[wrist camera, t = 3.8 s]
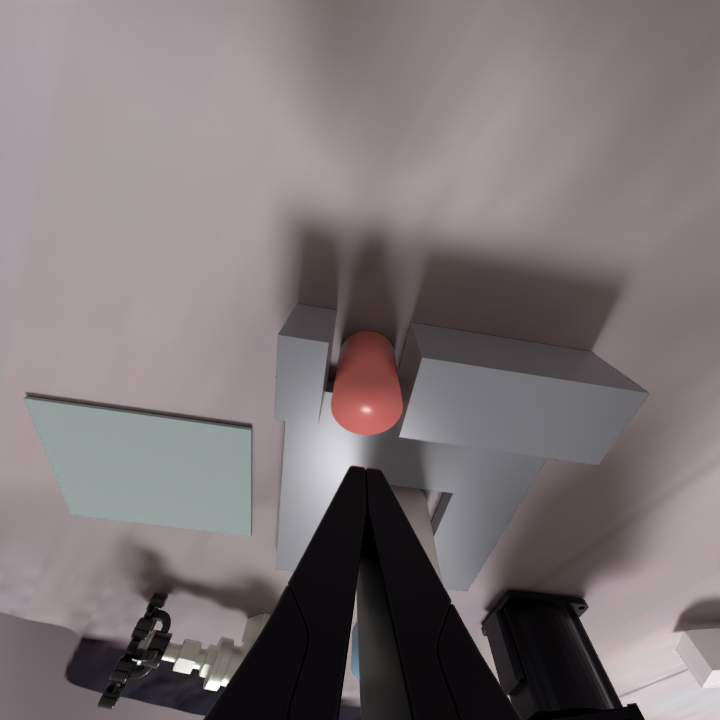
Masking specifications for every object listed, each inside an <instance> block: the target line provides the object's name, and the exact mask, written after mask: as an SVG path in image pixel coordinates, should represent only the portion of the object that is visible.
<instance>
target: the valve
mask: <svg viewBox="0 0 720 720" xmlns="http://www.w3.org/2000/svg"><path fill="white" fill-rule="evenodd" d="M167 598H168V596H167V595H163V594H159V593H154V595H153V596H152V598H151V600H150V602H149V604H148V606H147V609H146V610H147V611H146V613H145V615H144V617H143V618H140V619H139V621H138V623H137V625H136V627H135V629H134V631H133V633H132V635H131V638H132V639H131V641H130V643H129V645H128V647H127V649H126V651H125V653H124V655H123V657H120V659H119V660H118V662H117V664H116V666H115V668H114V670H113V672H112V674H111V676H110V680H112V681H111V683H109V684H108V685H107V687H106V689H105V691H104V693H103V695H102V696H101V699H100V701H99V703H98V706H97V707H100V708H106V709H113V708H114V706H115V704H116V702H117V701H118V700H119V698H120V696H121V694H122V692H123V690H124V688H125V684H122V682H123V683H124V682H125V681H126V679H127V678H132V679H136V678H140V677H143V676H144V675H146V674H147V673H148V672H149V671H150V670H151V668H158V666H159V664H160V662H161V660H166V661H170V662H175V664H174V666H173V671H177V672H182V673H186V674H190V673H191V671H192V669H193V668H195V669H198V670H199V671H200V672H199V676H200V677H205V681H204V689H208V690H213V691H217V690H218V688H219V687H220V686H225V687H226V685H227V684H228V682H229V681H230V679H231V678H232V676H233V675H234V673H235V672H236V670H237V669H238V667H239V666H240V664H241V663H242V661H243V659H244V658H245V656H246V655H247V653H248V652H249V650H250V648H251V647H252V645H253V644H254V642H255V641H256V639H257V637H258V636H259V634H260V633H261V631H262V629H263V627H264V626H265V624H266V622H267V620H268V619H269V617H270V614H267V613H263V614H260V615H257V616H254V617H251V618H249V619H248V620H247V624H246V627H245V631H244V634H243V638H242V642H243V644H244V645H243V646H241V647H238V646H234V640H233V639H229V638H225V637H221V639H220V640H219V642H218V645H217V646H216V645H210V646H209V648H208V649H203V648H201V646H202V642H199V641H194V640H190V639H185V640H184V642H183V645H179V644H175V643H171V642H170V639H171V637H172V633H168V631H169V628H170V625H171V619H170V616H169V614H168V613H167V612H165V611H163V610H159V609H158V608H162V607H164V604H165V602H166V600H167ZM157 620H158V621H161V622H162V624H163V627H162V629H161V631H159V630H155V629H154V630H153V628H154V626H155V624H156V622H157ZM152 630H153V631H152ZM137 662H138V663H137ZM136 664H138V665H142V666H137V665H136Z"/></svg>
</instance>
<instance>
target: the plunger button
mask: <svg viewBox="0 0 720 720" xmlns="http://www.w3.org/2000/svg"><path fill="white" fill-rule="evenodd" d="M402 409H403V403H402V396H401V390H400V384H399V378H398V372H397V366H396V360H395V354H394V349H393V346H392V344H391V343H390V342H389V340H388V339H387V338H386V337H384V336H383V335H381V334H379V333H376V332H372V331H362V332H358V333H355V334H353V335H351V336H350V337H348V338H347V339H346V340H345V342H344V343H343V345H342V346H341V349H340V354H339V359H338V365H337V371H336V377H335V382H334V388H333V394H332V400H331V411H332V414H333V417H334V418H335V420H336V421H337V423H338V424H339V425H340V426H342V427H343V428H344V429H346V430H348V431H350V432H352V433H355V434H360V435H374V434H379V433H382V432H384V431H386V430H388V429H390V428H391V427H392V426H394V425H395V424H396V422H397V421H398V420H399V418H400V416H401V414H402Z"/></svg>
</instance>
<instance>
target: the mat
mask: <svg viewBox="0 0 720 720" xmlns="http://www.w3.org/2000/svg"><path fill="white" fill-rule="evenodd" d="M23 399H24V401H25V404H26V406H27V409H28V411H29V413H30V416H31V418H32V421H33V423H34V426H35V428H36V430H37V433H38V435H39V438H40V440H41V443H42V445H43V447H44V450H45V452H46V455H47V457H48V460H49V462H50V464H51V467H52V469H53V472H54V474H55V477H56V479H57V482H58V484H59V486H60V489H61V491H62V494H63V496H64V499H65V501H66V503H67V506H68V508H69V511H70V513H71V515H79V516H87V517H95V518H104V519H112V520H120V521H129V522H137V523H145V524H154V525H162V526H170V527H179V528H187V529H195V530H203V531H212V532H220V533H228V534H237V535H245V536H251V534H252V428H250V427H243V426H236V425H229V424H222V423H215V422H208V421H200V420H193V419H186V418H179V417H172V416H165V415H157V414H150V413H143V412H136V411H129V410H122V409H115V408H107V407H100V406H93V405H86V404H79V403H72V402H65V401H57V400H50V399H43V398H36V397H29V396H26V397H25V398H23Z"/></svg>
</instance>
